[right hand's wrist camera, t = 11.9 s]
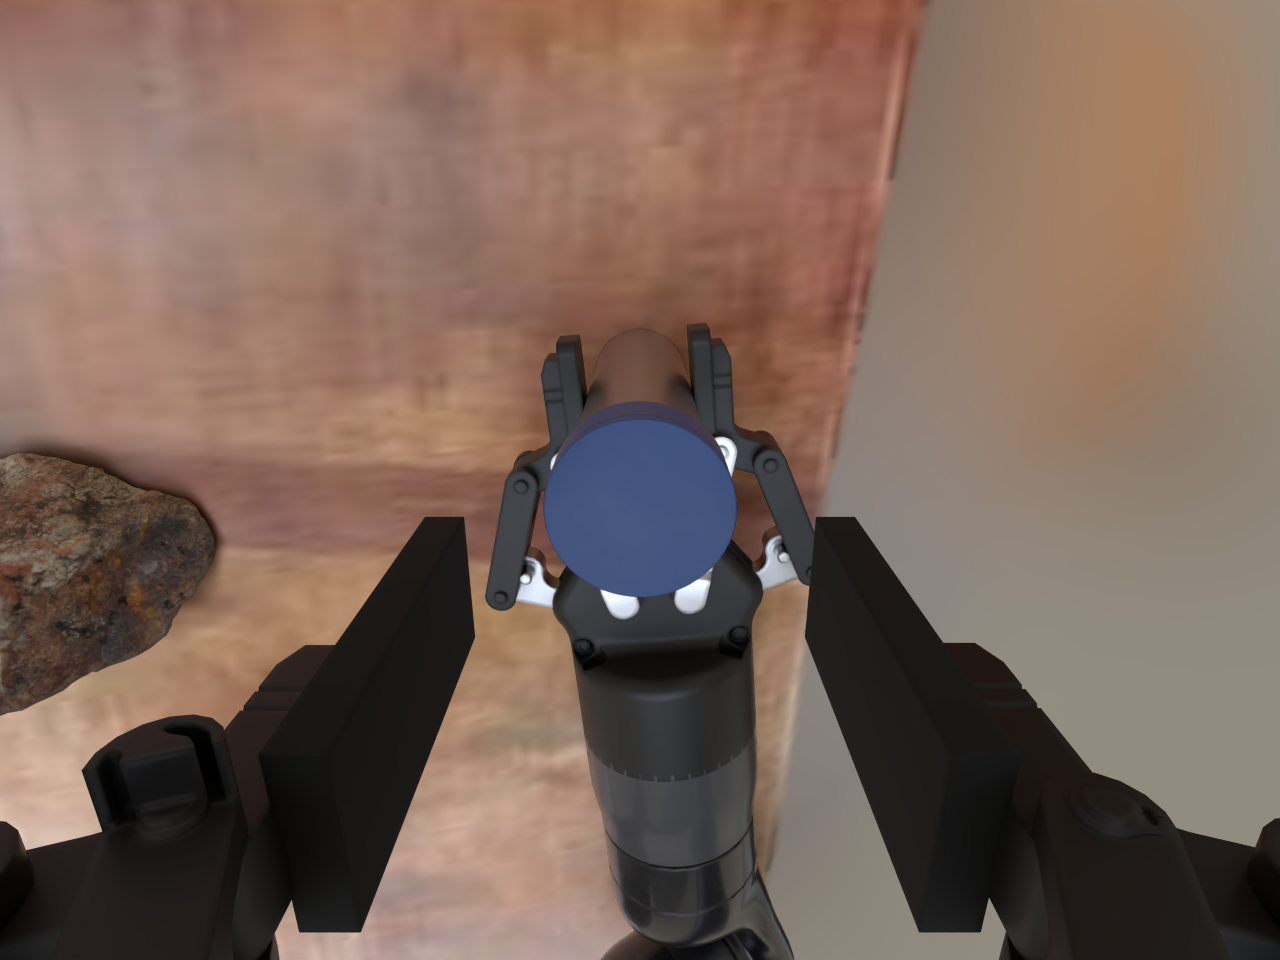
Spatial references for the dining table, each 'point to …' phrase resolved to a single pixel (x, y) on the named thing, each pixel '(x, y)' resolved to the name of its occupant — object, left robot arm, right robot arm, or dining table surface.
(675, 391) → the metal flask
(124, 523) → the rock
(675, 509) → the lid
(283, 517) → the dining table surface
